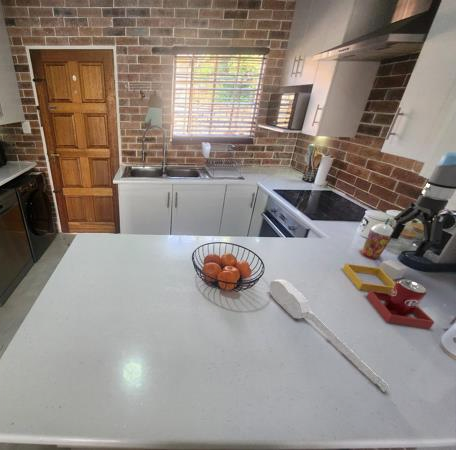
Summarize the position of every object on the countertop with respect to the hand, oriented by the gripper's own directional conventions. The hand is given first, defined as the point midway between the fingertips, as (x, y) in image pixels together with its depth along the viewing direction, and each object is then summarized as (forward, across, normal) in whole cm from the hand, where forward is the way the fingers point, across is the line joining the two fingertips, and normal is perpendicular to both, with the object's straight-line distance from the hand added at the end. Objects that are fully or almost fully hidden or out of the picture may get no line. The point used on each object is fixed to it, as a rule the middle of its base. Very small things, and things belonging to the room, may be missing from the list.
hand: (404, 246), depth 99 cm
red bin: (+15, +24, -12) cm, 31 cm away
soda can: (+14, +24, -12) cm, 30 cm away
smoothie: (+15, -16, +1) cm, 22 cm away
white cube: (+15, 0, 0) cm, 15 cm away
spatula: (+15, +40, -44) cm, 61 cm away
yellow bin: (+15, +8, -12) cm, 20 cm away
